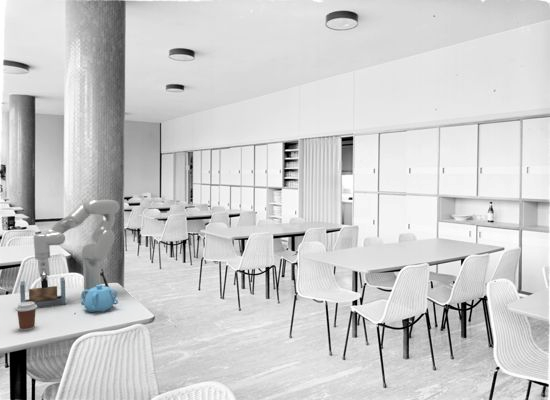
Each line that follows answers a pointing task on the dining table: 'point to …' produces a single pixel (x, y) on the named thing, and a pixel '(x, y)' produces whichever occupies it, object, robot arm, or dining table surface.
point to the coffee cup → (26, 315)
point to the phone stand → (104, 278)
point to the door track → (46, 303)
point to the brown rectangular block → (42, 294)
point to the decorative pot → (99, 299)
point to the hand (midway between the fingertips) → (44, 285)
